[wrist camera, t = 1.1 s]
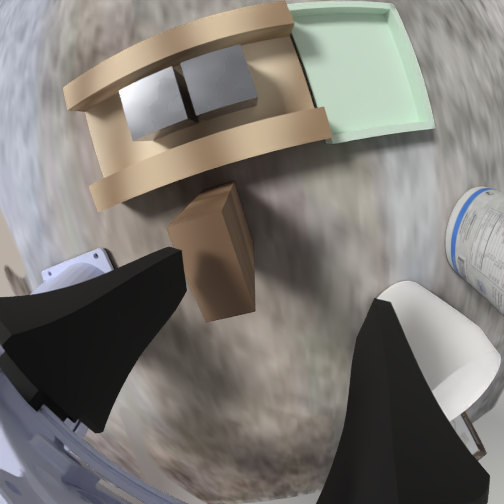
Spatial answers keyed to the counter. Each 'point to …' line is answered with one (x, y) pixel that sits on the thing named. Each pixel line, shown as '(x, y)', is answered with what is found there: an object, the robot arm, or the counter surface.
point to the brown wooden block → (217, 252)
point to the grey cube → (158, 105)
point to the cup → (444, 346)
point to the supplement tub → (479, 242)
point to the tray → (361, 68)
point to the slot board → (205, 132)
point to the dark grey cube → (219, 83)
